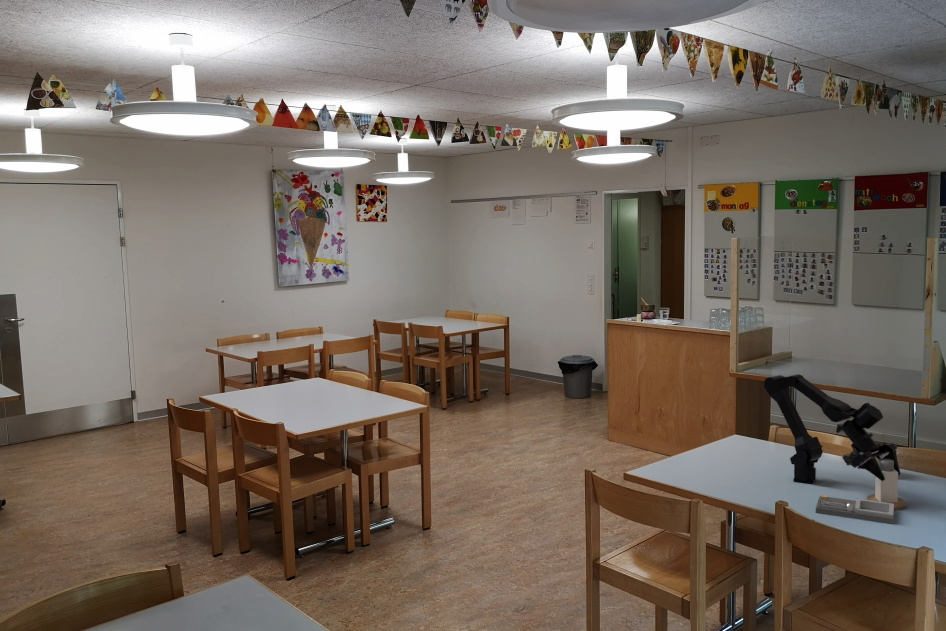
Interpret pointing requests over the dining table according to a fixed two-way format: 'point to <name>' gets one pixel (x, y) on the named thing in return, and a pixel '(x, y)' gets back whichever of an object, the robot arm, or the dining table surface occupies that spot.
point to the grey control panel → (858, 509)
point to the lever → (837, 504)
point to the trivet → (897, 506)
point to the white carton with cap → (887, 483)
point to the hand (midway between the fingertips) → (891, 477)
